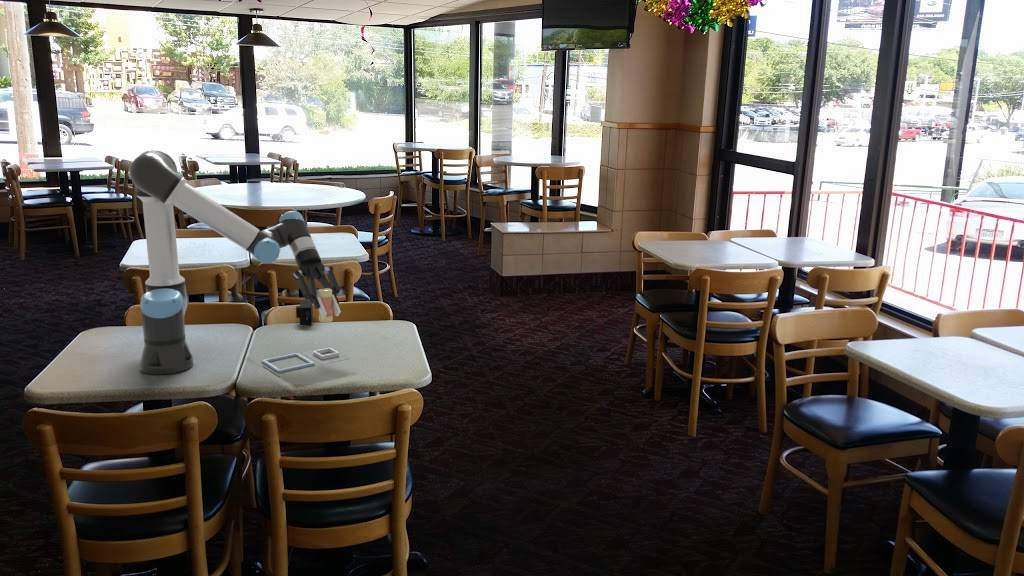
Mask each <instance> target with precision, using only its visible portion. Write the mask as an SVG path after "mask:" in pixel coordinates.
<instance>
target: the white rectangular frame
mask: <svg viewBox="0 0 1024 576" xmlns="http://www.w3.org/2000/svg"><path fill="white" fill-rule="evenodd" d="M301 353H302V354H304V355H305V356H306V357H308V358H310V359H311V360H314V361H316V362H318V364H320V365H327V364H331V363H336V362H340V361H344V360H345V361H346V360H349V359H351V357H350V356H348V355H345V353H342V352H340V351H338V350H337V349H335V348H332V347H331V346H326V347H322V348H317V349H313V350H308V351H304V352H301Z"/></svg>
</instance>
